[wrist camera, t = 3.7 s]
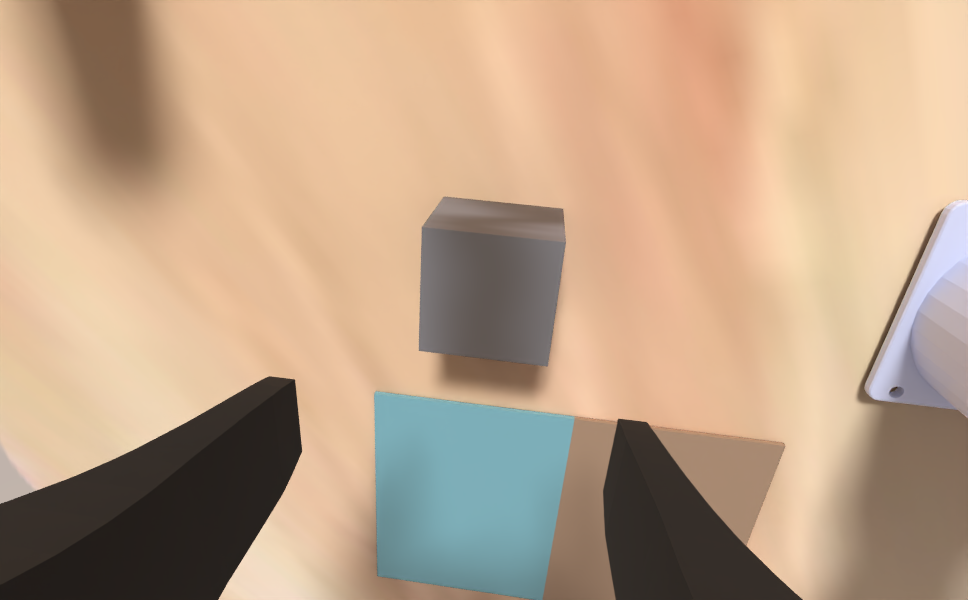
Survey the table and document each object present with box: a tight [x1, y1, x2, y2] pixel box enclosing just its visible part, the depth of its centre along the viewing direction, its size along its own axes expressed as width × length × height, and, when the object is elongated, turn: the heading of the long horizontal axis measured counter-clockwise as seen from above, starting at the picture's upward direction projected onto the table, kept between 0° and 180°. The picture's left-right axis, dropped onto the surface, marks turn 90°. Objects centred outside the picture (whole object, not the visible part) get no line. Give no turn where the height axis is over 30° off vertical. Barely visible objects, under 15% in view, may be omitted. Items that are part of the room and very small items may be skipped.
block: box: [419, 197, 566, 366], centre depth 19 cm, size 4×4×4 cm
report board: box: [374, 391, 785, 600], centre depth 26 cm, size 18×12×1 cm, turn 86°
